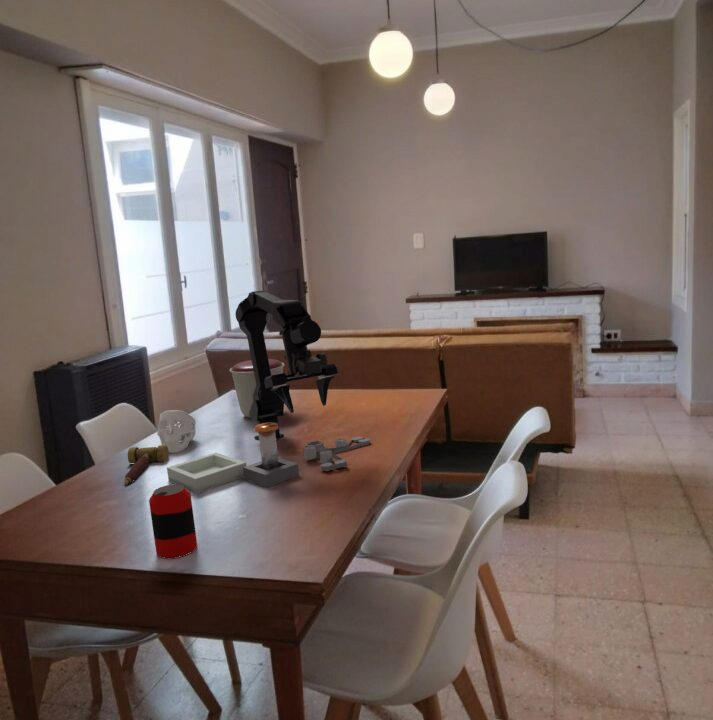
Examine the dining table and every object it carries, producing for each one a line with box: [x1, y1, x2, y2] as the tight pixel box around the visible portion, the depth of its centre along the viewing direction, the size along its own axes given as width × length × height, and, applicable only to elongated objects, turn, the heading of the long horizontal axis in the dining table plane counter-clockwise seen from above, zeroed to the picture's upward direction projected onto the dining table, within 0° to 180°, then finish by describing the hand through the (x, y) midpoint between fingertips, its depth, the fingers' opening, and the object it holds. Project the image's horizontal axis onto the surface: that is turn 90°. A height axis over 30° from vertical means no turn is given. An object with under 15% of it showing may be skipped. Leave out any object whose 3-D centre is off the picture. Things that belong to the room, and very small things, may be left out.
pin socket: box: [243, 457, 300, 488], centre depth 165 cm, size 10×10×3 cm
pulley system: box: [303, 436, 371, 473], centre depth 179 cm, size 27×5×15 cm
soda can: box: [148, 484, 198, 559], centre depth 128 cm, size 8×8×12 cm
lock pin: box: [254, 422, 279, 471], centre depth 164 cm, size 6×6×13 cm
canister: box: [229, 358, 285, 419], centre depth 226 cm, size 18×18×21 cm
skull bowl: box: [156, 409, 196, 454], centre depth 199 cm, size 10×14×12 cm
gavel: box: [124, 444, 170, 485], centre depth 178 cm, size 21×5×10 cm
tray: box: [166, 452, 247, 494], centre depth 168 cm, size 14×14×4 cm
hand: (308, 409), depth 174 cm, fingers open, 9 cm apart
